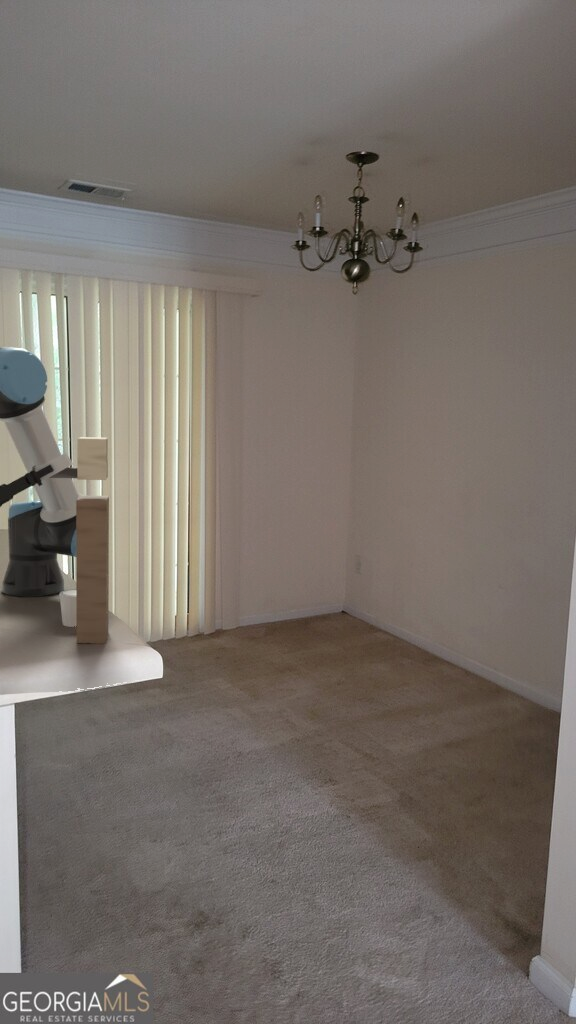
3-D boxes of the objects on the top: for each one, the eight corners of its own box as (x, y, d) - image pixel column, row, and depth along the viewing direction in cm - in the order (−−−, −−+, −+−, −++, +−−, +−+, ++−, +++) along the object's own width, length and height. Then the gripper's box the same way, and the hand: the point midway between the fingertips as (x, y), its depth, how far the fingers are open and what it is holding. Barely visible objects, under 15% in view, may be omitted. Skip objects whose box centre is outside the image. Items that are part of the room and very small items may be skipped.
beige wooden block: (35, 475, 155) (35, 435, 154) (107, 476, 158) (107, 437, 157) (30, 478, 149) (30, 437, 148) (105, 480, 151) (105, 439, 150)
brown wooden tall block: (80, 632, 162) (80, 495, 158) (108, 632, 163) (108, 495, 159) (76, 643, 154) (76, 500, 150) (106, 643, 155) (106, 500, 151)
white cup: (59, 628, 164) (59, 596, 163) (59, 619, 171) (59, 589, 170) (92, 627, 166) (92, 595, 165) (91, 618, 173) (91, 588, 172)
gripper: (-20, 527, 159) (81, 472, 161) (-38, 539, 144) (74, 478, 146) (-40, 495, 157) (63, 440, 159) (-60, 504, 143) (54, 443, 145)
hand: (68, 458), depth 153 cm, fingers closed on beige wooden block, 2 cm apart
